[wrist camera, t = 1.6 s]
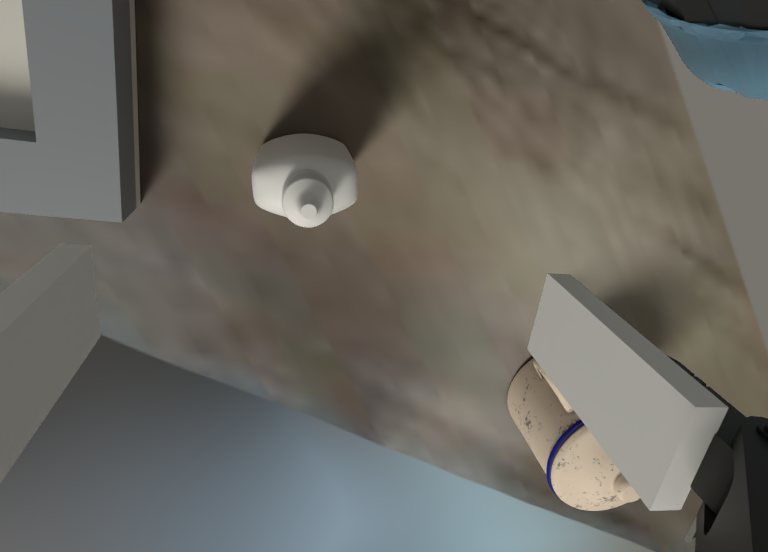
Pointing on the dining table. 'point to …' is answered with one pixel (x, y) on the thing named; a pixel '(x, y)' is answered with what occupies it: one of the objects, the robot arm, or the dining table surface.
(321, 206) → the eye dropper bottle
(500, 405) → the dining table surface
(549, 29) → the dining table surface
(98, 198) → the hole block
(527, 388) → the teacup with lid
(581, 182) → the dining table surface
